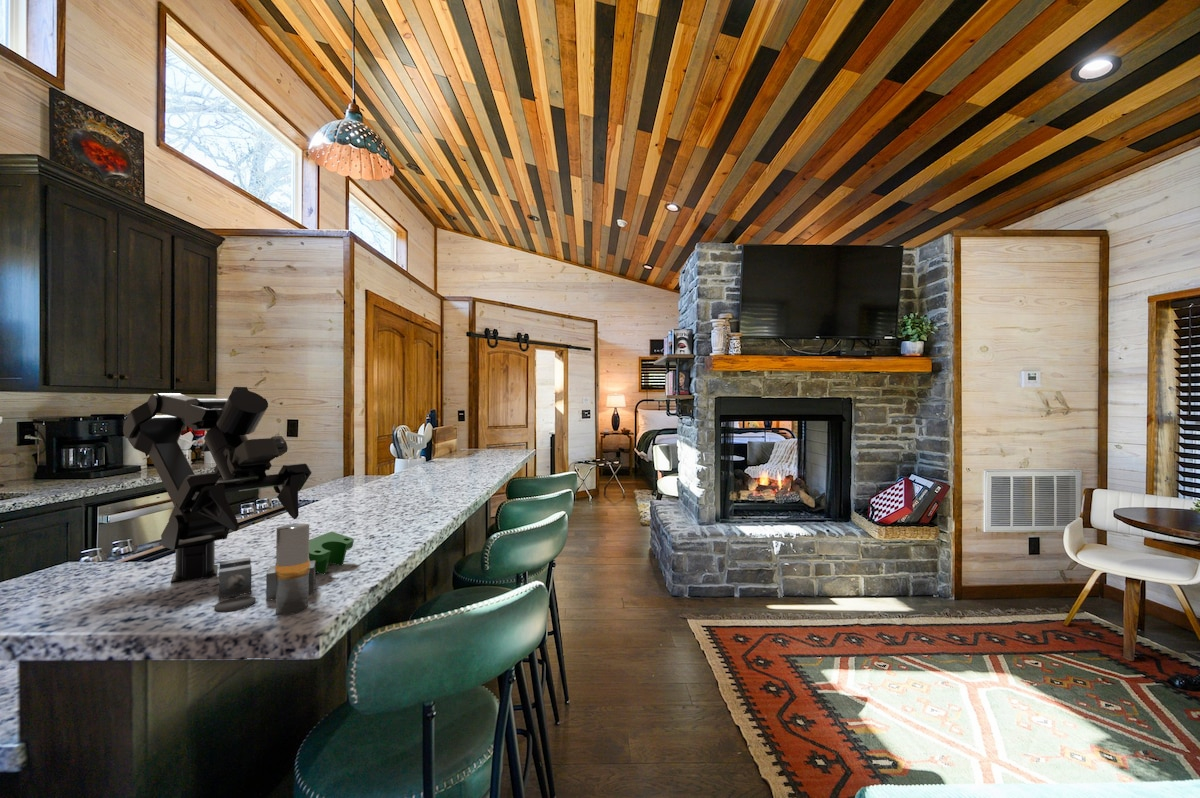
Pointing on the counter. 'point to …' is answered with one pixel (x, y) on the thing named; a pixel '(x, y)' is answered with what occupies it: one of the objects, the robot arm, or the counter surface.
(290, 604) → the sleeve
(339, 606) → the counter surface
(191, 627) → the counter surface
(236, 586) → the grey metal block
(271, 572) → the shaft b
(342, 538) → the clamp
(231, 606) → the pad
